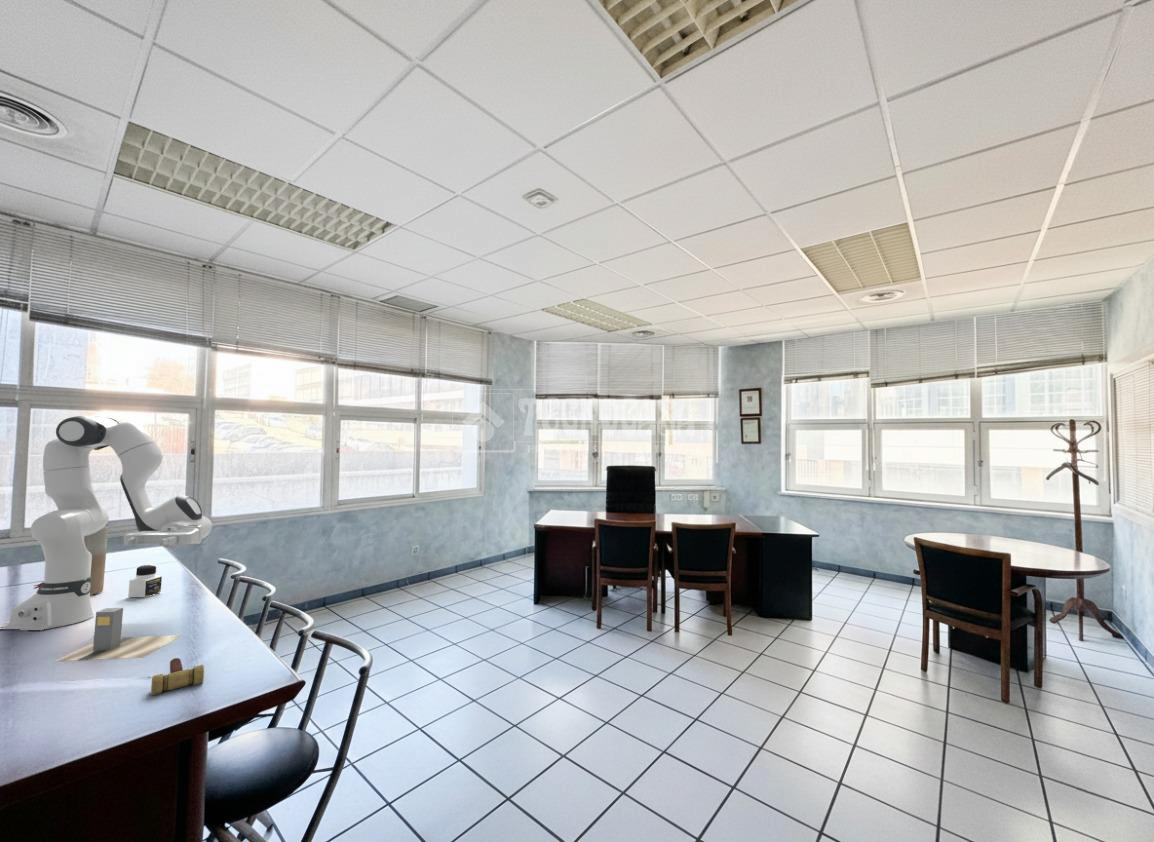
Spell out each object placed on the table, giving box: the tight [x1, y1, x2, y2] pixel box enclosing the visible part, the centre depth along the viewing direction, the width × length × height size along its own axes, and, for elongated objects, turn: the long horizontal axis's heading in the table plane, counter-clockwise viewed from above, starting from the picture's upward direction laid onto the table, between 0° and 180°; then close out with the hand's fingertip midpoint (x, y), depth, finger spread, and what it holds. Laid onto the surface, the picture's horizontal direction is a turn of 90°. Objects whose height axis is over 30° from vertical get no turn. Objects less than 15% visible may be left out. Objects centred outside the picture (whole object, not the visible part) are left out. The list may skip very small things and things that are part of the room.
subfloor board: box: [53, 634, 183, 662], centre depth 138 cm, size 22×16×2 cm
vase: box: [84, 523, 109, 596], centre depth 191 cm, size 10×10×28 cm
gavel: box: [150, 657, 205, 697], centre depth 125 cm, size 21×5×10 cm
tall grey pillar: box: [93, 607, 124, 651], centre depth 138 cm, size 4×4×11 cm
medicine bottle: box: [127, 564, 163, 598], centre depth 190 cm, size 7×7×12 cm
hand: (145, 542), depth 151 cm, fingers open, 8 cm apart
